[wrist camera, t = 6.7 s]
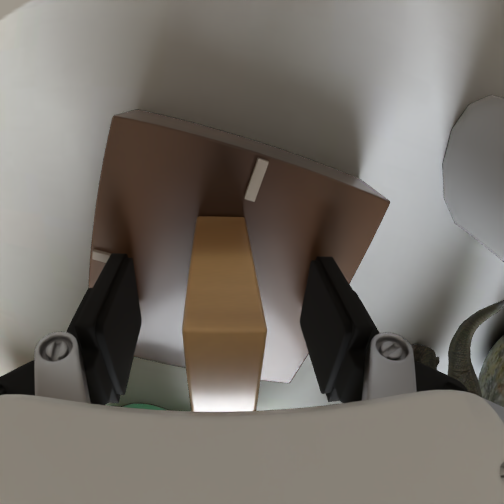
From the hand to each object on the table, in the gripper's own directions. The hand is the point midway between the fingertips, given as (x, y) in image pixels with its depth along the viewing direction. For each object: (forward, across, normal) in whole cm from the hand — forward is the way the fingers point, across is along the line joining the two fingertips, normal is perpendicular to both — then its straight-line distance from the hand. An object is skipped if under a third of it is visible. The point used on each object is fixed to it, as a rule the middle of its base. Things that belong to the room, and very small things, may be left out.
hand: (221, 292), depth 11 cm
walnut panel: (+4, 0, 0) cm, 4 cm away
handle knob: (+1, 0, 0) cm, 1 cm away
